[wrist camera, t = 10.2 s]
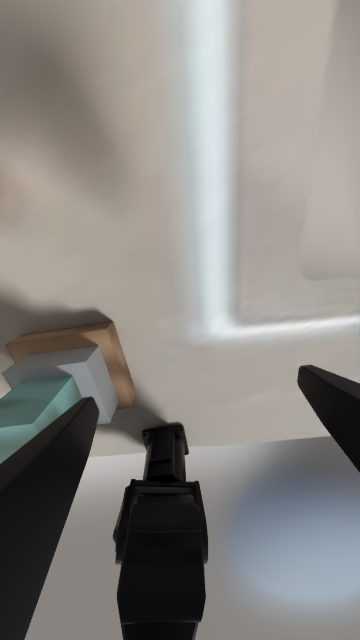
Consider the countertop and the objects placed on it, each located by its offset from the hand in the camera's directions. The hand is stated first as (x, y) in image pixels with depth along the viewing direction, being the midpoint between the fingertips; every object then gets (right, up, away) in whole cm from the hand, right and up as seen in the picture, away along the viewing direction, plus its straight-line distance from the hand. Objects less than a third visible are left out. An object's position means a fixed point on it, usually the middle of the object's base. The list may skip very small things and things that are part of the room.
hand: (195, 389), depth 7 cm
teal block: (-13, -5, +10) cm, 17 cm away
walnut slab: (-13, -3, +15) cm, 20 cm away
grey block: (-13, -4, +13) cm, 18 cm away
